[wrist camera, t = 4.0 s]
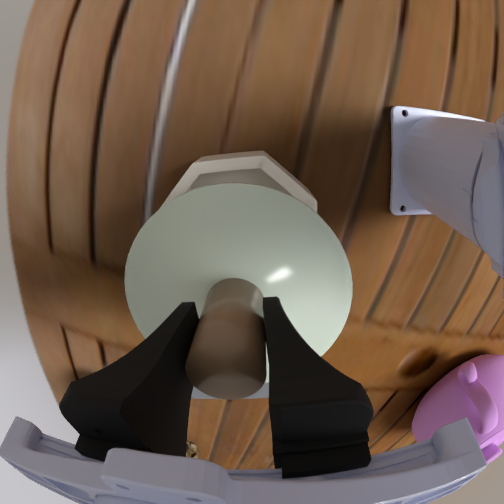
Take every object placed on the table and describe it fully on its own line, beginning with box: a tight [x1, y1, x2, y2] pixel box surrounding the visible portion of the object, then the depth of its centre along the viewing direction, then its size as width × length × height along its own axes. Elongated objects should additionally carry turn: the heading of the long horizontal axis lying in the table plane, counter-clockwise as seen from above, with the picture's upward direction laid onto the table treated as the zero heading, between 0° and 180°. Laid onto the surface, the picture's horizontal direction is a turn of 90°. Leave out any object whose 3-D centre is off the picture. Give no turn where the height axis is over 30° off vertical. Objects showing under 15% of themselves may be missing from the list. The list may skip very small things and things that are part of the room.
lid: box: [124, 182, 352, 400], centre depth 13 cm, size 12×12×6 cm
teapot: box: [412, 354, 504, 464], centre depth 24 cm, size 22×22×14 cm
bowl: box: [160, 150, 317, 213], centre depth 19 cm, size 10×10×3 cm
